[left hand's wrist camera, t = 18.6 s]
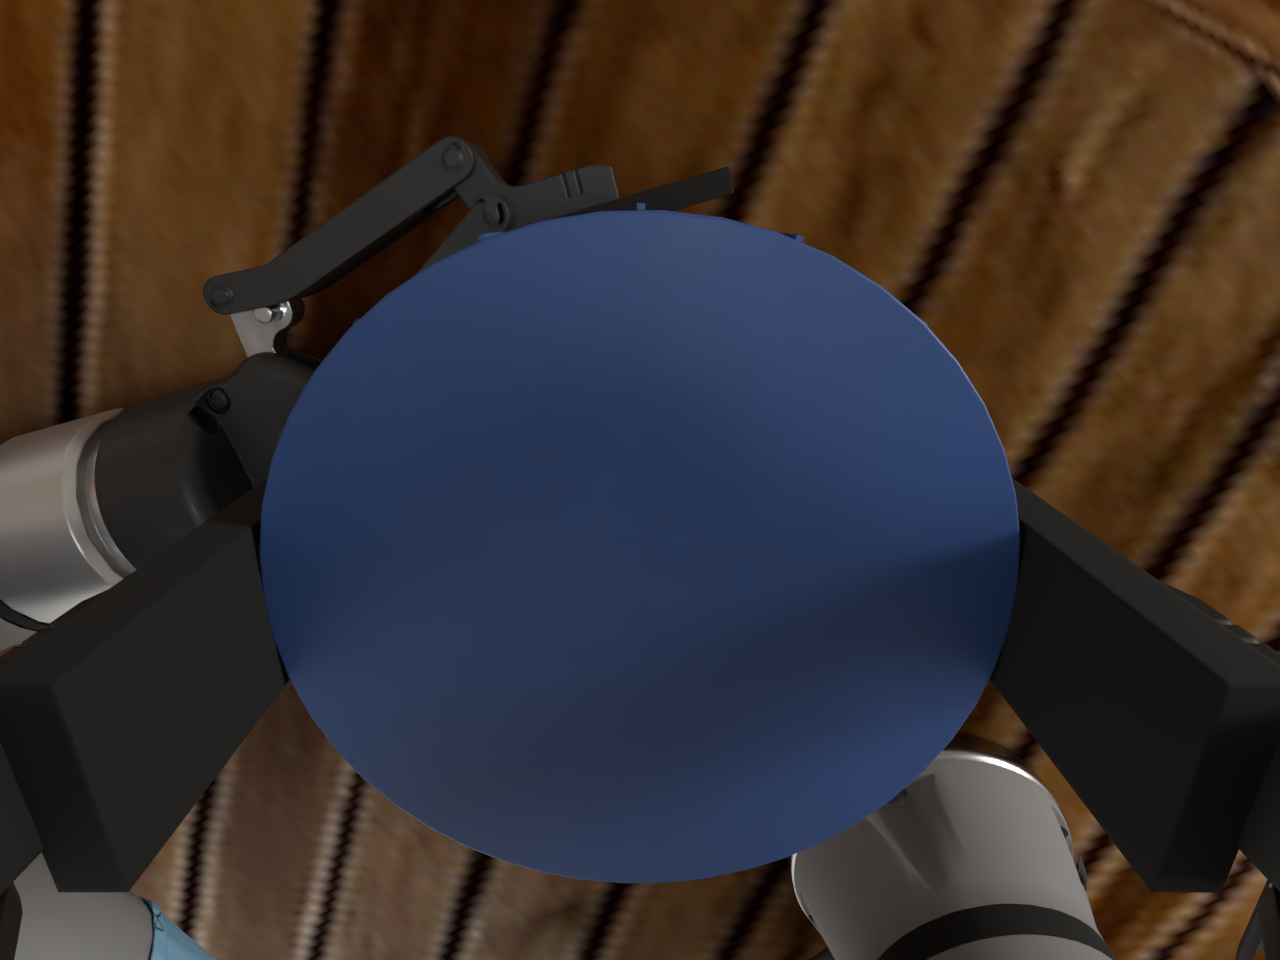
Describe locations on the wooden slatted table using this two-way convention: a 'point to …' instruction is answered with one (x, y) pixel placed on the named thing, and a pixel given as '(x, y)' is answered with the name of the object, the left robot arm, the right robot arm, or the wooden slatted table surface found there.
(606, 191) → the right robot arm
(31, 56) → the wooden slatted table surface
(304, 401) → the lid
